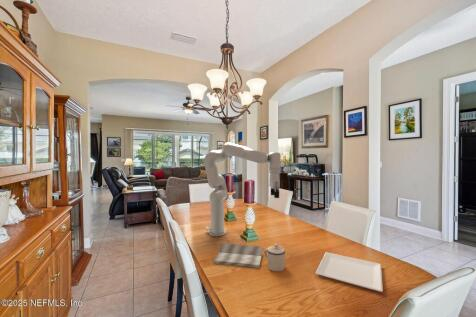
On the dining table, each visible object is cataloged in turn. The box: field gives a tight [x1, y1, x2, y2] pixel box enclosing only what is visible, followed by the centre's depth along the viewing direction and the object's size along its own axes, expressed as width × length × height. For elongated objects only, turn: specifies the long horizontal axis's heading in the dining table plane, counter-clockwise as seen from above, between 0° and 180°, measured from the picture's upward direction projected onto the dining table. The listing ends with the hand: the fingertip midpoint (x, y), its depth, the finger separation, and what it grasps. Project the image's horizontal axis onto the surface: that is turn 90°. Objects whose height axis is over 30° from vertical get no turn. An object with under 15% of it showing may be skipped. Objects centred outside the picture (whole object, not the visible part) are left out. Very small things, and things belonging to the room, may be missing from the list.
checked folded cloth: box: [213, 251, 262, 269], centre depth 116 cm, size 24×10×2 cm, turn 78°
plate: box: [315, 251, 383, 293], centre depth 105 cm, size 26×26×2 cm
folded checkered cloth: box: [218, 242, 263, 258], centre depth 124 cm, size 24×6×2 cm, turn 78°
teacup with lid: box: [263, 243, 286, 272], centre depth 110 cm, size 12×9×12 cm
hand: (274, 196), depth 145 cm, fingers open, 9 cm apart
